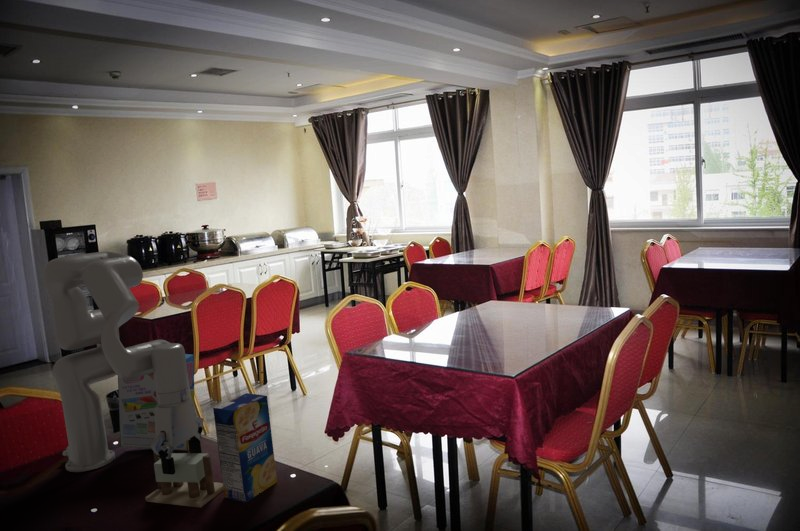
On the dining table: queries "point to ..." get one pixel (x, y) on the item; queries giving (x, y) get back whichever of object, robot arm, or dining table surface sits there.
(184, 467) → the pale green rectangular block
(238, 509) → the dining table surface
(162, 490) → the rack
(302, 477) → the dining table surface
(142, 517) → the dining table surface
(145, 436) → the game box
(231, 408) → the beverage box
